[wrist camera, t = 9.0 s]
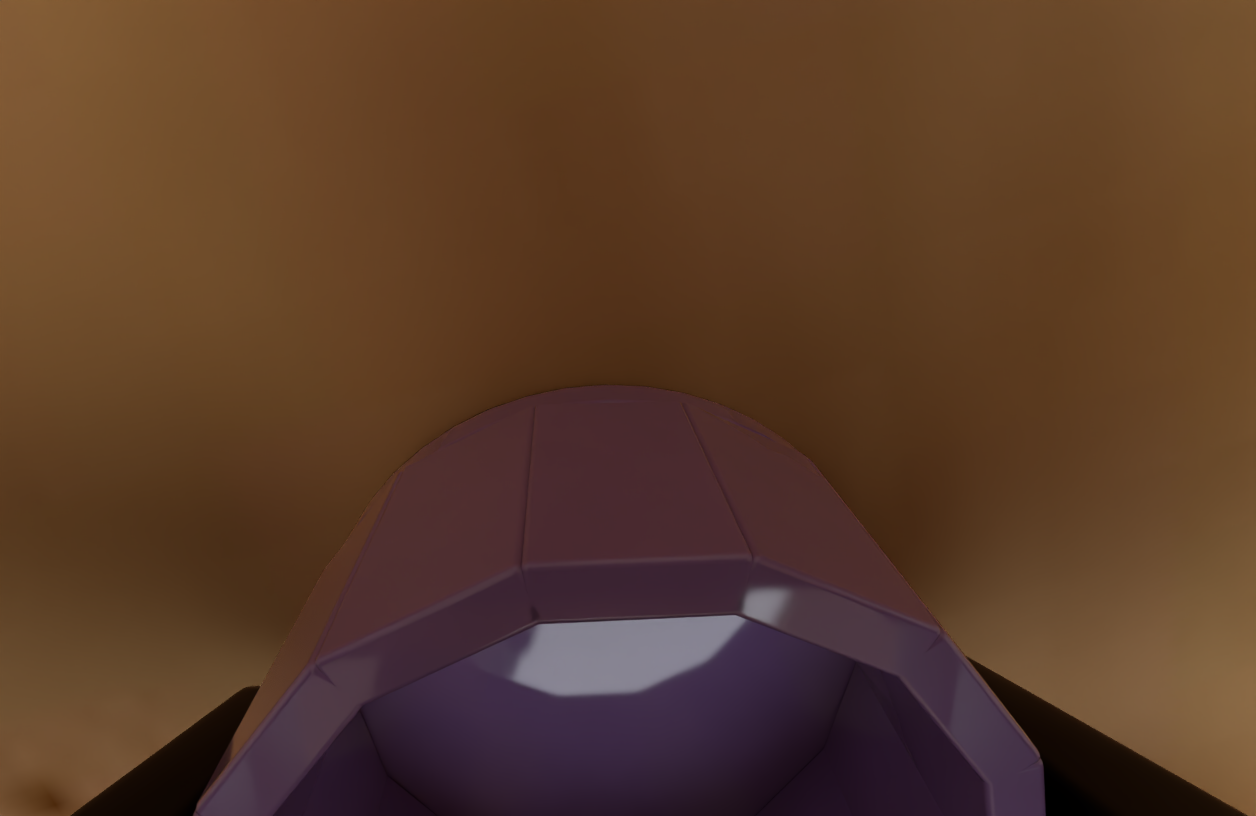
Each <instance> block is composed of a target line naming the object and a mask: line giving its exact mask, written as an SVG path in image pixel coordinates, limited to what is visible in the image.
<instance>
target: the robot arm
mask: <svg viewBox="0 0 1256 816" xmlns="http://www.w3.org/2000/svg"><path fill="white" fill-rule="evenodd" d="M966 657H967V656H966ZM967 659H968V660H969V661H970V662H971V664H972V665H973V666H974V668H975V669H976V670H977V671H978V673H979V674H980V675H981V677H982V678H983V679H984V680H985V682H986V683H987V684H988V686H989V687H990V688H991V689H992V691H993V692H994V693H995V695H996V696H997V697H998V698H999V700H1000V701H1001V702H1002V704H1003V705H1004V706H1005V708H1006V709H1007V710H1008V711H1009V713H1010V714H1011V715H1012V717H1013V718H1014V719H1015V720H1016V722H1017V723H1018V724H1019V726H1020V727H1021V728H1022V729H1023V731H1024V732H1025V733H1026V735H1027V736H1028V737H1029V738H1030V740H1031V741H1032V742H1033V744H1034V745H1035V746H1036V747H1037V749H1038V750H1039V754H1040V758H1041V759H1042V761H1043V765H1044V786H1045V806H1046V816H1247V815H1246V814H1244V813H1242V812H1240V811H1239V810H1237V809H1235V808H1233V807H1231V806H1230V805H1228V804H1226V803H1224V802H1223V801H1221V800H1219V799H1217V798H1216V797H1214V796H1212V795H1210V794H1209V793H1207V792H1205V791H1203V790H1201V789H1200V788H1198V787H1196V786H1194V785H1193V784H1191V783H1189V782H1187V781H1186V780H1184V779H1182V778H1180V777H1179V776H1177V775H1175V774H1173V773H1172V772H1170V771H1168V770H1166V769H1164V768H1163V767H1161V766H1159V765H1157V764H1156V763H1154V762H1152V761H1150V760H1149V759H1147V758H1145V757H1143V756H1142V755H1140V754H1138V753H1136V752H1134V751H1133V750H1131V749H1129V748H1127V747H1126V746H1124V745H1122V744H1120V743H1119V742H1117V741H1115V740H1113V739H1112V738H1110V737H1108V736H1106V735H1104V734H1103V733H1101V732H1099V731H1097V730H1096V729H1094V728H1092V727H1090V726H1089V725H1087V724H1085V723H1083V722H1082V721H1080V720H1078V719H1076V718H1074V717H1073V716H1071V715H1069V714H1067V713H1066V712H1064V711H1062V710H1060V709H1059V708H1057V707H1055V706H1053V705H1052V704H1050V703H1048V702H1046V701H1044V700H1043V699H1041V698H1039V697H1037V696H1036V695H1034V694H1032V693H1030V692H1029V691H1027V690H1025V689H1023V688H1022V687H1020V686H1018V685H1016V684H1014V683H1013V682H1011V681H1009V680H1007V679H1006V678H1004V677H1002V676H1000V675H999V674H997V673H995V672H993V671H992V670H990V669H988V668H986V667H984V666H983V665H981V664H979V663H977V662H976V661H974V660H972V659H970V658H969V657H967ZM259 688H260V686H251V687H246V688H243V689H242V690H240V691H239V692H237V693H236V694H234V695H233V696H232V697H230V698H229V699H228V700H226V701H225V702H224V703H222V704H221V705H220V706H218V707H217V708H215V709H214V710H213V711H211V712H210V713H209V714H207V715H206V716H205V717H203V718H202V719H201V720H199V721H198V722H196V723H195V724H194V725H192V726H191V727H190V728H188V729H187V730H186V731H184V732H183V733H182V734H180V735H179V736H177V737H176V738H175V739H173V740H172V741H171V742H169V743H168V744H167V745H165V746H164V747H163V748H161V749H160V750H159V751H157V752H156V753H154V754H153V755H152V756H150V757H149V758H148V759H146V760H145V761H144V762H142V763H141V764H140V765H138V766H137V767H135V768H134V769H133V770H131V771H130V772H129V773H127V774H126V775H125V776H123V777H122V778H121V779H119V780H118V781H116V782H115V783H114V784H112V785H111V786H110V787H108V788H107V789H106V790H104V791H103V792H102V793H100V794H99V795H98V796H96V797H95V798H93V799H92V800H91V801H89V802H88V803H87V804H85V805H84V806H83V807H81V808H80V809H79V810H77V811H76V812H74V813H73V814H72V815H70V816H192V815H193V813H194V811H195V809H196V806H197V802H198V801H199V799H200V797H201V795H202V793H203V791H204V790H205V788H206V786H207V784H208V782H209V780H210V779H211V777H212V775H213V773H214V771H215V769H216V767H217V766H218V764H219V762H220V760H221V758H222V756H223V755H224V753H225V751H226V749H227V747H228V745H229V743H230V742H231V740H232V738H233V736H234V734H235V732H236V731H237V729H238V727H239V725H240V723H241V721H242V720H243V718H244V716H245V714H246V712H247V710H248V708H249V707H250V705H251V703H252V701H253V699H254V697H255V696H256V694H257V692H258V690H259Z"/></svg>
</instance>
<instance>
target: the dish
mask: <svg viewBox="0 0 1256 816" xmlns="http://www.w3.org/2000/svg"><path fill="white" fill-rule="evenodd" d="M192 816H1046V806H1045V786H1044V765H1043V761H1042V759H1041V758H1040V754H1039V750H1038V749H1037V747H1036V746H1035V745H1034V744H1033V742H1032V741H1031V740H1030V738H1029V737H1028V736H1027V735H1026V733H1025V732H1024V731H1023V729H1022V728H1021V727H1020V726H1019V724H1018V723H1017V722H1016V720H1015V719H1014V718H1013V717H1012V715H1011V714H1010V713H1009V711H1008V710H1007V709H1006V708H1005V706H1004V705H1003V704H1002V702H1001V701H1000V700H999V698H998V697H997V696H996V695H995V693H994V692H993V691H992V689H991V688H990V687H989V686H988V684H987V683H986V682H985V680H984V679H983V678H982V677H981V675H980V674H979V673H978V671H977V670H976V669H975V668H974V666H973V665H972V664H971V662H970V661H969V660H968V659H967V657H966V656H965V655H964V653H963V652H962V651H961V650H960V648H959V647H958V646H957V644H956V643H955V642H954V640H953V639H952V638H951V637H950V635H949V634H948V633H947V631H946V630H945V629H944V628H943V626H942V625H941V624H940V623H939V621H938V620H937V619H936V618H935V616H934V615H933V614H932V612H931V611H930V610H929V609H928V607H927V606H926V605H925V604H924V602H923V601H922V600H921V598H920V597H919V596H918V595H917V593H916V592H915V591H914V590H913V588H912V587H911V586H910V584H909V583H908V582H907V581H906V579H905V578H904V577H903V576H902V574H901V573H900V572H899V571H898V569H897V568H896V567H895V565H894V564H893V563H892V562H891V560H890V559H889V558H888V557H887V555H886V554H885V553H884V551H883V550H882V549H881V548H880V546H879V545H878V544H877V543H876V541H875V540H874V539H873V537H872V536H871V535H870V534H869V532H868V531H867V530H866V529H865V527H864V526H863V525H862V524H861V522H860V521H859V520H858V518H857V517H856V516H855V515H854V513H853V512H852V511H851V510H850V508H849V507H848V506H847V504H846V503H845V502H844V501H843V499H842V498H841V497H840V496H839V494H838V493H837V492H836V490H835V489H834V488H833V487H832V485H831V484H830V483H829V482H828V480H827V479H826V478H825V477H824V475H823V474H822V473H821V471H820V470H819V469H818V468H817V466H816V465H815V464H814V463H813V461H812V460H810V459H808V458H807V457H806V456H805V455H804V454H802V453H800V452H799V451H798V450H796V449H795V448H794V447H793V446H792V445H791V444H789V443H788V442H787V441H786V440H785V439H784V438H782V437H780V436H779V435H777V434H776V433H774V432H773V431H771V430H769V429H768V428H766V427H765V426H763V425H762V424H760V423H758V422H757V421H755V420H754V419H752V418H749V417H747V416H745V415H743V414H741V413H739V412H736V411H734V410H732V409H730V408H728V407H725V406H723V405H721V404H718V403H715V402H712V401H709V400H705V399H702V398H699V397H695V396H692V395H689V394H686V393H681V392H675V391H669V390H664V389H658V388H652V387H646V386H623V385H597V386H586V387H574V388H564V389H559V390H555V391H550V392H545V393H541V394H536V395H531V396H526V397H523V398H521V399H518V400H515V401H512V402H509V403H506V404H503V405H500V406H498V407H495V408H492V409H489V410H487V411H485V412H483V413H481V414H479V415H477V416H475V417H473V418H471V419H469V420H467V421H465V422H463V423H461V424H459V425H457V426H455V427H453V428H451V429H450V430H448V431H447V432H445V433H444V434H442V435H441V436H440V437H438V438H437V439H435V440H434V441H432V442H431V443H429V444H428V445H426V446H425V447H423V448H422V449H420V450H419V451H418V452H417V453H416V454H415V455H414V456H413V457H412V458H410V459H409V460H408V461H407V462H406V463H405V464H404V465H403V466H401V467H400V468H399V469H398V470H397V471H396V472H395V473H394V474H393V475H392V476H391V477H390V478H389V479H388V481H387V482H386V483H385V484H384V485H383V486H382V488H381V489H380V490H379V491H378V492H377V494H376V495H375V496H374V497H373V498H372V499H371V501H370V502H369V504H368V505H367V507H366V508H365V510H364V512H363V513H362V515H361V516H360V518H359V520H358V521H357V523H356V524H355V526H354V528H353V529H352V531H351V533H350V535H349V537H348V538H347V540H346V542H345V543H344V544H343V545H342V547H341V548H340V549H339V551H338V552H337V553H336V555H335V556H334V557H333V559H332V560H331V561H330V562H329V564H328V565H327V566H326V568H325V569H324V570H323V572H322V574H321V576H320V577H319V579H318V581H317V583H316V585H315V587H314V589H313V590H312V592H311V594H310V596H309V598H308V600H307V601H306V603H305V605H304V607H303V609H302V611H301V613H300V614H299V616H298V618H297V620H296V622H295V624H294V625H293V627H292V629H291V631H290V633H289V635H288V637H287V638H286V640H285V642H284V644H283V646H282V648H281V649H280V651H279V653H278V655H277V657H276V659H275V660H274V662H273V664H272V666H271V668H270V670H269V672H268V673H267V675H266V677H265V679H264V681H263V683H262V684H261V686H260V688H259V690H258V692H257V694H256V696H255V697H254V699H253V701H252V703H251V705H250V707H249V708H248V710H247V712H246V714H245V716H244V718H243V720H242V721H241V723H240V725H239V727H238V729H237V731H236V732H235V734H234V736H233V738H232V740H231V742H230V743H229V745H228V747H227V749H226V751H225V753H224V755H223V756H222V758H221V760H220V762H219V764H218V766H217V767H216V769H215V771H214V773H213V775H212V777H211V779H210V780H209V782H208V784H207V786H206V788H205V790H204V791H203V793H202V795H201V797H200V799H199V801H198V802H197V806H196V809H195V811H194V813H193V815H192Z"/></svg>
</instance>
